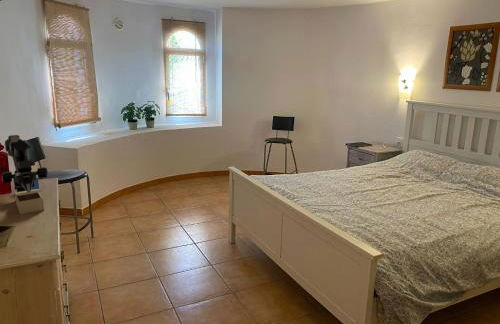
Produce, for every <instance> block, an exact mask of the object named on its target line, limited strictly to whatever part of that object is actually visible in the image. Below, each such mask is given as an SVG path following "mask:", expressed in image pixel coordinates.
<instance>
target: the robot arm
mask: <svg viewBox="0 0 500 324" xmlns="http://www.w3.org/2000/svg"><path fill="white" fill-rule="evenodd" d="M4 148H5V152H7V155H8V156H9V157H12V161H13V165H14V169H15V171H14V173H12V171H7V172H2V173H1V179H2V184H11V183H12V182H13V184H12V185H13V188H14V190H16V192H22V191H27V186H26V184H30V190H31V188H32V187H34V180H36V177H37V178H38V179H45V178H47V177H48V168H47V167H46V166H45V167H44V166H43V167H38V168H37V170H35V171H33V166H36V161H35V158H29V149H31V145H30V144H29V143H28V142H27V141H26V140H25V139H24V140H23V139H21V138H20V135H19V134H12V135H8V136H7V139H6V140H5V141H4Z"/></svg>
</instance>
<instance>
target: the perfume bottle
mask: <svg viewBox="0 0 500 324" xmlns="http://www.w3.org/2000/svg"><path fill="white" fill-rule="evenodd" d="M39 186H40V185H39V177H38V176H36V180H34V187H32V188H31V190H34V189H39V190H40V187H39Z"/></svg>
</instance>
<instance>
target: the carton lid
mask: <svg viewBox="0 0 500 324" xmlns="http://www.w3.org/2000/svg"><path fill="white" fill-rule="evenodd" d="M26 186H27V191H22V192H17V191H16V192H14V195H15V194H16V195H17V196H20V195H26V194H32V193H38V192H39V193H42V192H43V191H42V190H41V189H40V188H39V189H34V190H30V184H26Z"/></svg>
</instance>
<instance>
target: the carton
mask: <svg viewBox="0 0 500 324" xmlns="http://www.w3.org/2000/svg"><path fill="white" fill-rule="evenodd" d="M14 197H15V204H16V208H17V210H18V213H19V215H20V216H22V215H27V214H28V215H29V214H31V213H38V212H43V211H45V205H44V198H43V196H42V195H41V192H38V193H32V194H26V195H20V196H17V195H16V194H15V193H14Z"/></svg>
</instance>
